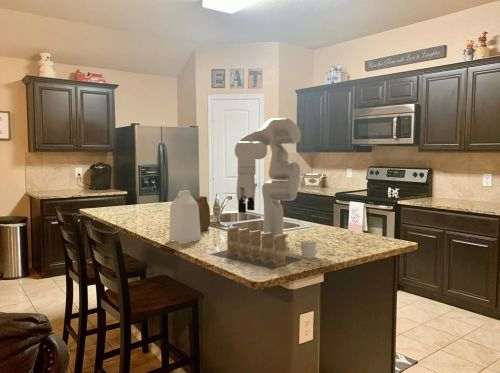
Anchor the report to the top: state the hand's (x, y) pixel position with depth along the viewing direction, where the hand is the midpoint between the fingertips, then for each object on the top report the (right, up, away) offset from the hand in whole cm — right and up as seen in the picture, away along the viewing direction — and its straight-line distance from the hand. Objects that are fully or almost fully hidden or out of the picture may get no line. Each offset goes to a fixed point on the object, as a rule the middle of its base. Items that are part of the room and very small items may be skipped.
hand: (246, 211), depth 174 cm
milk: (-32, -18, +41) cm, 55 cm away
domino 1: (-1, -20, +3) cm, 20 cm away
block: (-28, -16, +70) cm, 77 cm away
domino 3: (+9, -20, -6) cm, 23 cm away
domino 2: (+4, -20, -1) cm, 21 cm away
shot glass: (+27, -21, +3) cm, 34 cm away
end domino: (-6, -19, +7) cm, 22 cm away
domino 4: (+13, -21, -10) cm, 27 cm away
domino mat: (+3, -20, +3) cm, 21 cm away
